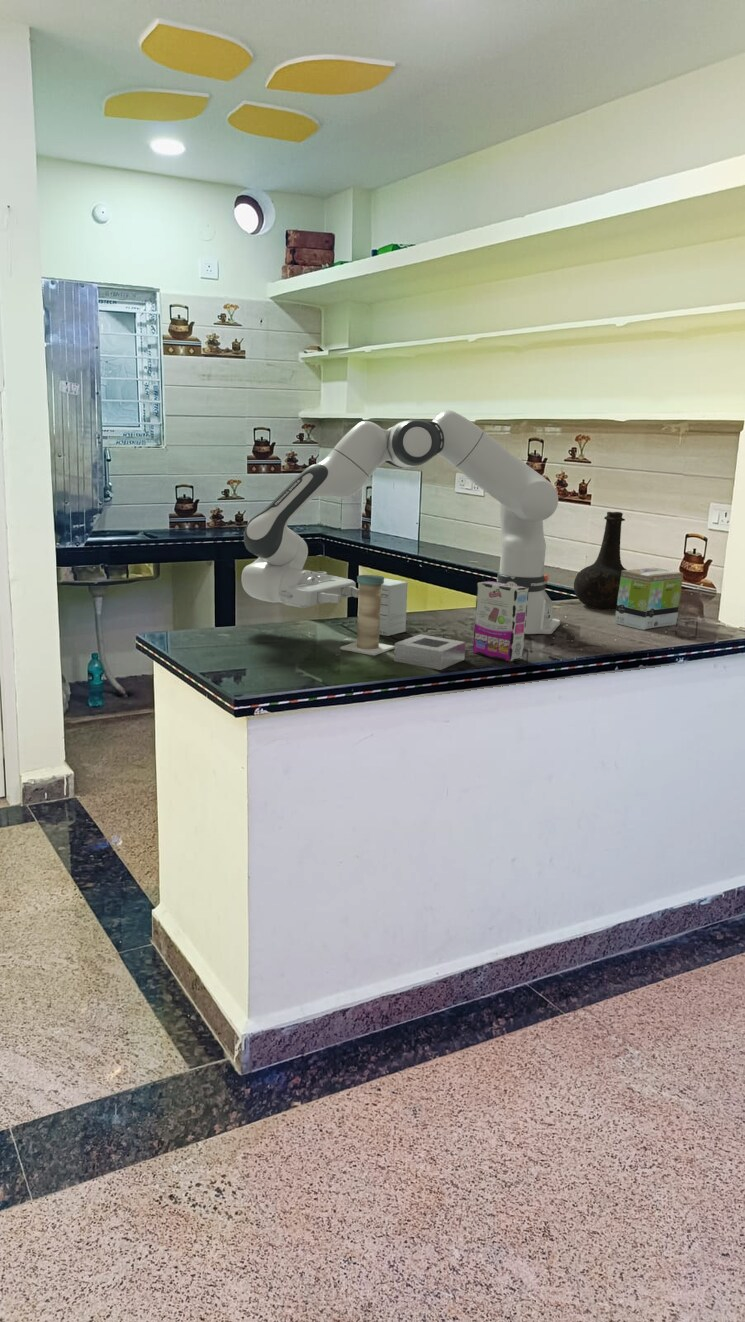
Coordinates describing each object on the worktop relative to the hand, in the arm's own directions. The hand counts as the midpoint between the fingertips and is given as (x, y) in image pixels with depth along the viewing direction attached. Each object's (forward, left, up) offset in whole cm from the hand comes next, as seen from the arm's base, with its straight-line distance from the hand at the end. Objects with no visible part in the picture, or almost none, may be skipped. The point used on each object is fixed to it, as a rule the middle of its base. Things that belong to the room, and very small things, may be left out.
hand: (350, 596), depth 209 cm
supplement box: (-18, -1, -12) cm, 22 cm away
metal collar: (0, +21, -11) cm, 24 cm away
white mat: (0, +5, -11) cm, 12 cm away
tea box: (-74, +48, -12) cm, 89 cm away
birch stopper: (0, +5, -11) cm, 12 cm away
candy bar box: (-14, +31, -12) cm, 36 cm away
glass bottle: (-90, +31, -12) cm, 96 cm away
